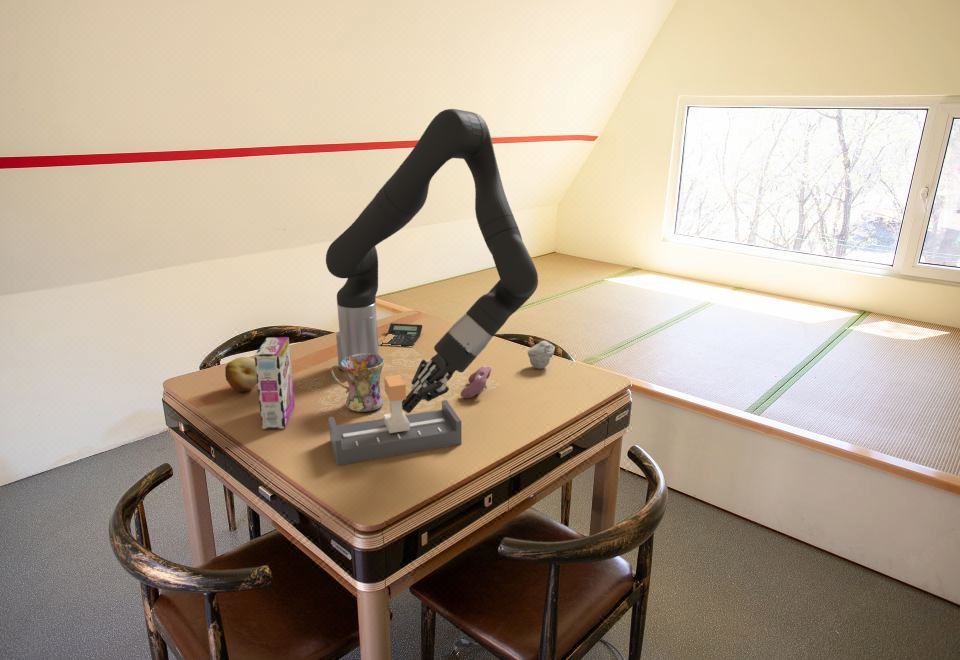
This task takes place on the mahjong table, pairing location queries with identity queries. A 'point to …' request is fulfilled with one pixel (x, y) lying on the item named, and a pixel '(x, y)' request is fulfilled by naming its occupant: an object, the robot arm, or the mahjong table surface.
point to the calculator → (404, 334)
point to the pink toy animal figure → (476, 382)
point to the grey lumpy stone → (541, 354)
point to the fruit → (241, 373)
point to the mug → (362, 381)
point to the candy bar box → (274, 382)
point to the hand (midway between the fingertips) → (404, 409)
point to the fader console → (395, 436)
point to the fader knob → (396, 404)
